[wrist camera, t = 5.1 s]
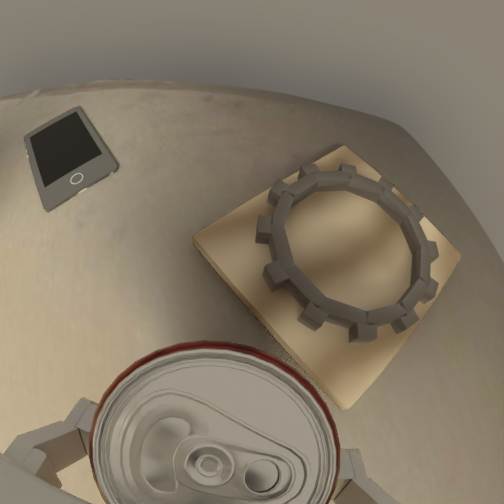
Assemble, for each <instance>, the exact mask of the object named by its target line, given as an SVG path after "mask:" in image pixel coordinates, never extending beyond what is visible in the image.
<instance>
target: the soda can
mask: <svg viewBox="0 0 504 504" xmlns="http://www.w3.org/2000/svg"><path fill="white" fill-rule="evenodd" d="M89 459H90V463H91V468H92V473H93V477H94V480H95V482H96V485H97V487H98V489H99V491H100V494H101V496H102V498H103V500H104V501H105V503H106V504H328V503H329V501H330V499H331V497H332V495H333V493H334V491H335V488H336V484H337V480H338V475H339V471H340V443H339V438H338V433H337V429H336V424H335V422H334V420H333V418H332V415H331V413H330V411H329V409H328V407H327V404H326V403H325V402H324V400H323V399H322V397H321V396H320V395H319V393H318V392H317V390H316V389H315V388H314V386H313V385H312V384H311V383H310V382H309V381H307V380H306V379H305V378H304V377H303V376H302V375H301V374H300V373H299V372H298V371H297V370H296V369H294V368H293V367H291V366H289V365H288V364H286V363H285V362H283V361H282V360H280V359H279V358H277V357H275V356H273V355H270V354H268V353H266V352H263V351H261V350H258V349H256V348H254V347H250V346H246V345H241V344H237V343H232V342H226V341H207V340H202V341H194V342H186V343H179V344H175V345H172V346H169V347H166V348H162V349H159V350H156V351H154V352H152V353H150V354H149V355H147V356H145V357H143V358H141V359H139V360H137V361H135V362H134V363H133V364H132V365H131V366H129V367H128V368H127V369H126V370H124V371H123V372H122V373H121V374H120V375H118V376H117V378H116V379H115V380H114V381H113V383H112V384H111V385H110V386H109V388H108V389H107V390H106V391H105V393H104V395H103V397H102V399H101V401H100V403H99V405H98V407H97V409H96V411H95V413H94V417H93V421H92V425H91V430H90V434H89Z"/></svg>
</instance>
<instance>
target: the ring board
mask: <svg viewBox="0 0 504 504" xmlns="http://www.w3.org/2000/svg"><path fill="white" fill-rule="evenodd" d="M192 237H193V244H194V245H195V247H196V248H197V249H198V250H199V251H200V253H201V254H202V255H203V256H204V257H205V259H206V260H207V261H208V262H209V263H210V264H211V266H212V267H213V268H214V269H215V270H216V272H217V273H218V274H219V275H220V276H221V277H222V279H223V280H224V281H225V282H226V283H227V284H228V286H229V287H230V288H231V289H232V290H233V291H234V293H235V294H236V295H237V296H238V297H239V298H240V299H241V301H242V302H243V303H244V304H245V305H246V306H247V307H248V309H249V310H250V311H251V312H252V313H253V314H254V315H255V316H256V318H257V319H258V320H259V321H260V322H261V323H262V324H263V325H264V327H265V328H266V329H267V330H268V331H269V332H270V333H271V334H272V336H273V337H274V338H275V339H276V340H277V341H278V342H279V343H280V344H281V346H282V347H283V348H284V349H285V350H286V351H287V352H288V353H289V354H290V355H291V356H292V358H293V359H294V360H295V361H296V362H297V363H298V364H299V365H300V366H301V367H302V368H303V369H304V371H305V372H306V373H307V374H308V375H309V376H310V377H311V378H312V379H313V380H314V381H315V382H316V383H317V384H318V386H319V387H320V388H321V389H322V390H323V391H324V392H325V393H326V394H327V395H328V396H329V397H330V398H331V399H332V400H333V401H334V402H335V403H336V404H337V406H338V407H339V408H340V409H341V410H343V409H349V408H350V407H351V406H352V405H353V404H354V403H355V402H356V401H357V399H358V398H359V397H360V396H361V395H362V394H363V393H364V392H365V391H366V390H367V388H368V387H369V386H370V385H371V384H372V383H373V382H374V380H375V379H376V378H377V377H378V376H379V374H380V373H381V372H382V371H383V370H384V368H385V367H386V366H387V365H388V364H389V362H390V361H391V360H392V359H393V357H394V356H395V355H396V354H397V352H398V351H399V350H400V348H401V347H402V346H403V345H404V343H405V342H406V341H407V339H408V338H409V337H410V335H411V334H412V332H413V331H414V330H415V328H416V327H417V325H418V324H419V323H420V321H421V320H422V318H423V317H424V315H425V314H426V313H427V311H428V310H429V308H430V307H431V305H432V304H433V302H434V301H435V299H436V298H437V296H438V294H439V293H440V291H441V290H442V288H443V286H444V285H445V283H446V282H447V280H448V278H449V277H450V275H451V273H452V272H453V270H454V268H455V266H456V265H457V263H458V261H459V259H460V258H461V255H460V254H459V253H458V252H457V250H456V249H455V248H454V247H453V246H452V245H451V244H450V243H449V242H448V241H447V239H446V238H445V237H444V236H443V235H442V234H441V233H440V232H439V231H438V230H437V229H436V228H435V227H434V226H433V225H432V224H431V223H430V222H429V221H428V220H427V219H426V218H425V217H424V216H423V214H422V213H421V212H420V210H419V209H418V208H417V206H416V205H415V204H414V205H412V204H411V203H410V202H409V201H408V200H407V199H406V198H405V197H404V196H403V195H402V194H401V193H399V192H398V191H397V190H396V189H395V188H394V184H392V183H391V182H389V181H387V180H386V179H384V178H383V177H382V176H381V175H379V174H378V173H377V172H376V171H375V170H374V169H372V168H371V167H370V166H369V165H368V164H367V163H365V162H364V161H363V160H362V159H361V158H359V157H358V156H357V155H356V154H354V153H353V152H352V151H351V150H349V149H348V148H347V147H346V146H342V147H340V148H338V149H337V150H335V151H333V152H331V153H329V154H328V155H326V156H324V157H322V158H321V159H319V160H317V161H315V162H314V163H312V164H310V165H306V166H302V167H301V168H300V171H298V172H296V173H294V174H293V175H291V176H289V177H288V178H286V179H284V180H282V181H281V180H280V179H279V180H278V181H277V182H276V183H275V184H274V185H273V186H272V187H271V188H269V189H267V190H266V191H264V192H262V193H261V194H259V195H257V196H256V197H254V198H252V199H251V200H249V201H247V202H246V203H244V204H242V205H241V206H239V207H237V208H236V209H234V210H233V211H231V212H229V213H228V214H226V215H224V216H223V217H221V218H220V219H218V220H216V221H215V222H213V223H212V224H210V225H208V226H207V227H205V228H204V229H202V230H201V231H199V232H197V233H196V234H194V235H193V236H192Z"/></svg>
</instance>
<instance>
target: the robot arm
mask: <svg viewBox="0 0 504 504" xmlns="http://www.w3.org/2000/svg"><path fill="white" fill-rule="evenodd" d="M98 405H99V404H98V403H96V402H93V401H91V400H88V399H86V398H84V397H83V398H81V399H80V400H79V401H78V402H77V404H76V405H75V407H74V408H73V409H72V411H71V412H70V414H69V415H68V416H67V418H66V419H65V421H64V422H63V421H58V422H56V423H53V424H50V425H47V426H44V427H42V428H39V429H36V430H33V431H30V432H27V433H24V434H21V435H18V436H17V437H16V438H15V440H14V441H13V442H12V443H11V445H10V446H9V447H8V449H7V450H6V451H5V453H4V454H1V453H0V504H92V503H89V502H87V501H85V500H83V499H80V498H78V497H76V496H74V495H72V494H70V493H68V492H66V491H64V490H62V489H60V488H61V486H62V484H61V481H60V480H59V478H58V476H57V474H56V473H57V472H58V471H60V470H62V469H64V468H66V467H67V466H69V465H71V464H73V463H75V462H76V461H78V460H80V459H82V458H83V457H85V456H87V455H89V434H90V430H91V425H92V421H93V417H94V413H95V411H96V409H97V407H98ZM330 500H334V503H335V504H400V503H399V502H398V501H397V500H395V499H394V498H393V497H392V496H391V495H389V494H388V493H387V492H386V491H385V490H383V489H382V488H381V487H380V486H379V485H378V484H377V483H375V482H374V481H373V480H372V479H371V478H367V475H366V472H365V468H364V464H363V461H362V457H361V454H360V451H359V450H358V449H340V471H339V475H338V480H337V484H336V488H335V491H334V493H333V495H332V497H331V499H330Z"/></svg>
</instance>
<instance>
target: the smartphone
mask: <svg viewBox="0 0 504 504" xmlns="http://www.w3.org/2000/svg"><path fill="white" fill-rule="evenodd" d="M24 141H25V146H26V152H27V154H28V155H27V156H28V158H29V161H30V165H31V169H32V172H33V176H34V179H35V183H36V186H37V189H38V192H39V195H40V199H41V202H42V205H43V207H44V209H45V211H46V212H50V211H52V210H53V209H55V208H56V207H58V206H59V205H61V204H62V203H64V202H66V201H67V200H69V199H70V198H72V197H74V196H75V195H77V194H79V193H80V192H82V191H84V190H85V189H87V188H88V187H90V186H92V185H94V184H95V183H97V182H99V181H100V180H102V179H104V178H106V177H107V176H109V175H110V174H111V173H115V172H116V171H117V170H118V167H117V164H116V162H115V161H114V159H113V158H112V156H111V155H110V153H109V152H108V150H107V149H106V147H105V146H104V144H103V143H102V141H101V140H100V138H99V137H98V135H97V134H96V132H95V131H94V129H93V128H92V126H91V124H90V123H89V121H88V120H87V118H86V117H85V115H84V113H83V112H82V110H81V109H80V107H78V106H77V107H74V108H73V109H71V110H69V111H67V112H65V113H63V114H61V115H59V116H57V117H56V118H54V119H52V120H50V121H48V122H47V123H45V124H43V125H42V126H40V127H38V128H36V129H35V130H33V131H31V132H30V133H28V134H27V135H25V137H24Z"/></svg>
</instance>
